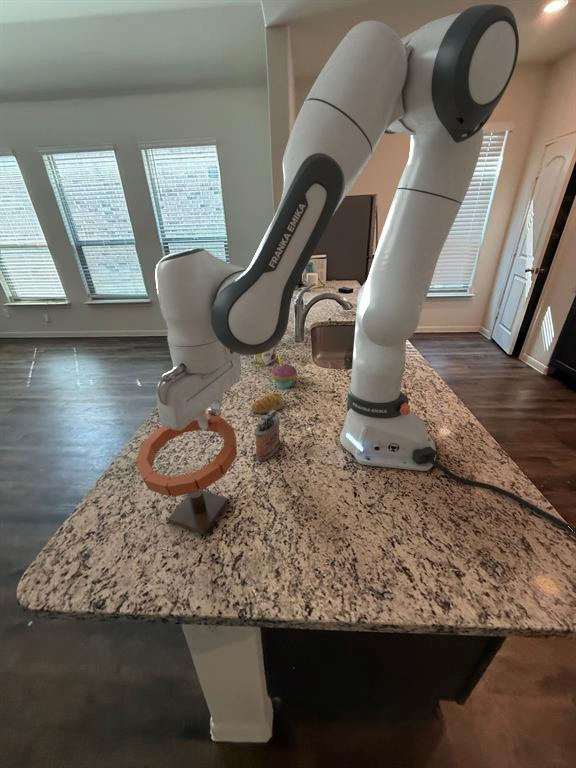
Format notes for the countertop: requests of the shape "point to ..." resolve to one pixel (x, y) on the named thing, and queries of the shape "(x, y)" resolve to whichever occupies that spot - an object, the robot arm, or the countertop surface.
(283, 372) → the cupcake
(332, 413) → the countertop surface
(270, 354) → the juice carton
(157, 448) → the ring
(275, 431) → the lighter
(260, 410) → the pastry
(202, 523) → the peg stand
